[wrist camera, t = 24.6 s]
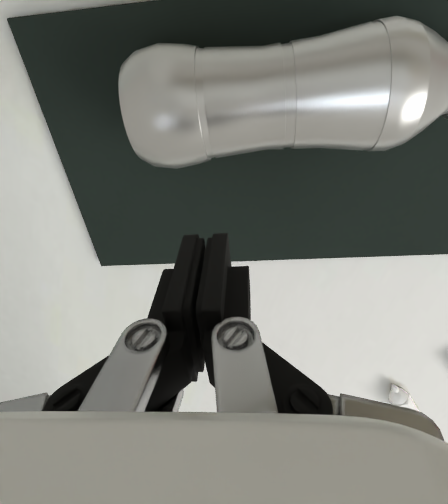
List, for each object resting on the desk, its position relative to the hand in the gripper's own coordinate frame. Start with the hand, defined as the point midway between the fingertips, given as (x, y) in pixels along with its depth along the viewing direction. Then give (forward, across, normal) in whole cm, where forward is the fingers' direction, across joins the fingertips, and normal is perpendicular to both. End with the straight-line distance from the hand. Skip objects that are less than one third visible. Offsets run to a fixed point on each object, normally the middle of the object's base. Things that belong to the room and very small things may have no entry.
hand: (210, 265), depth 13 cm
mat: (+14, -3, +1) cm, 14 cm away
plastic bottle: (+10, +6, -4) cm, 12 cm away
